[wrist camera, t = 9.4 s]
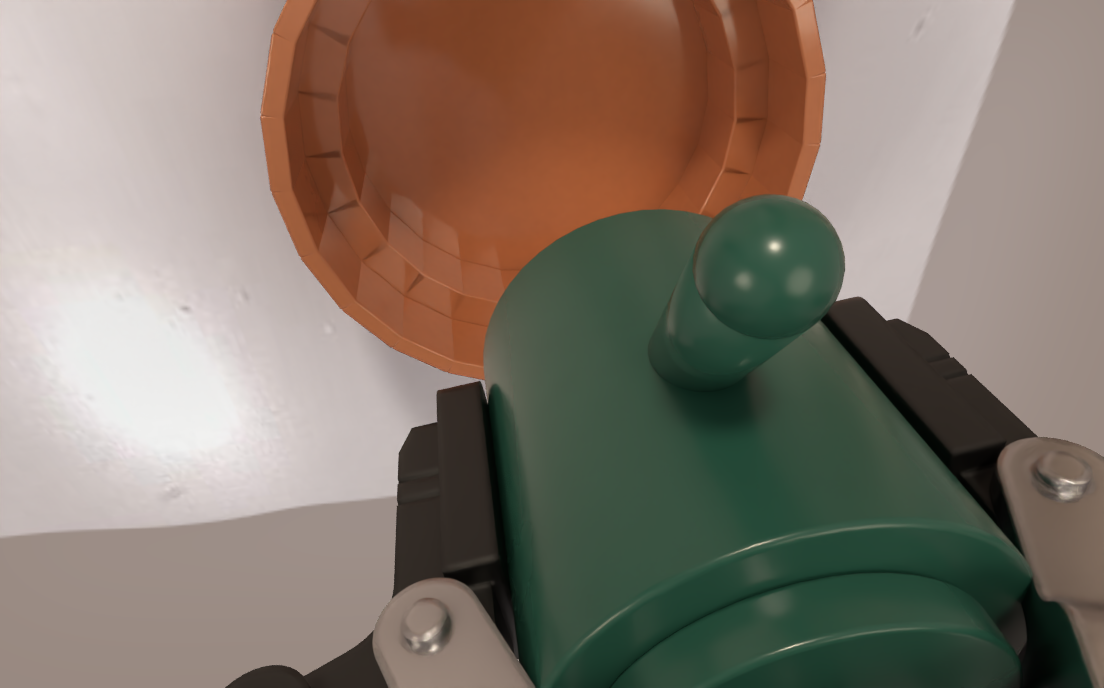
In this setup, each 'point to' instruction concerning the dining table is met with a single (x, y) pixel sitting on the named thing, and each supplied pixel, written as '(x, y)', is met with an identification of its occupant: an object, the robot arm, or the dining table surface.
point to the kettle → (726, 474)
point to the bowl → (517, 138)
